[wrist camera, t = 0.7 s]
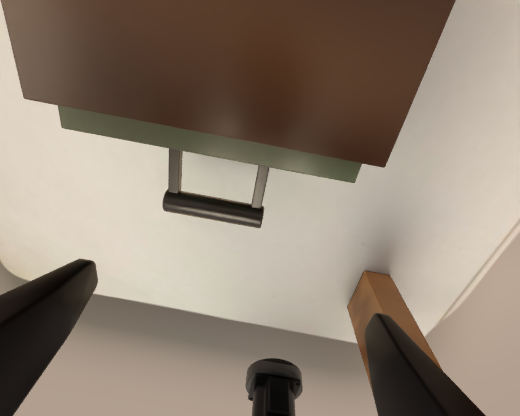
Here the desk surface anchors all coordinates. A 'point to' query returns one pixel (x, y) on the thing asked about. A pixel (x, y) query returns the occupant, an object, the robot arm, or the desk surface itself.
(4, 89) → the desk surface
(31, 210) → the desk surface
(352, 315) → the stand
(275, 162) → the drawer
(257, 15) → the cabinet
